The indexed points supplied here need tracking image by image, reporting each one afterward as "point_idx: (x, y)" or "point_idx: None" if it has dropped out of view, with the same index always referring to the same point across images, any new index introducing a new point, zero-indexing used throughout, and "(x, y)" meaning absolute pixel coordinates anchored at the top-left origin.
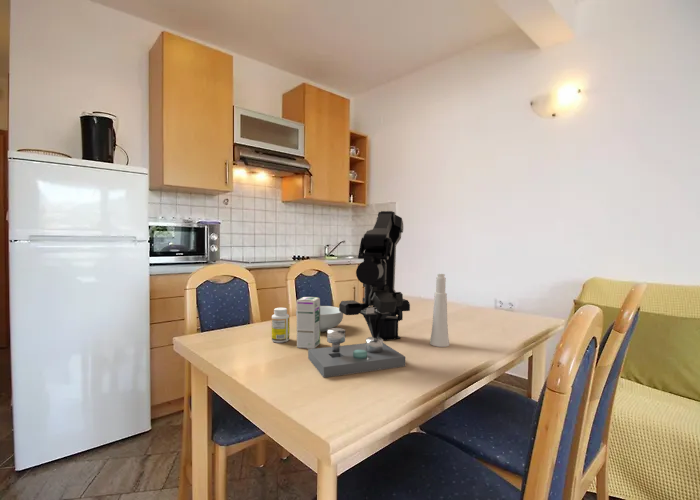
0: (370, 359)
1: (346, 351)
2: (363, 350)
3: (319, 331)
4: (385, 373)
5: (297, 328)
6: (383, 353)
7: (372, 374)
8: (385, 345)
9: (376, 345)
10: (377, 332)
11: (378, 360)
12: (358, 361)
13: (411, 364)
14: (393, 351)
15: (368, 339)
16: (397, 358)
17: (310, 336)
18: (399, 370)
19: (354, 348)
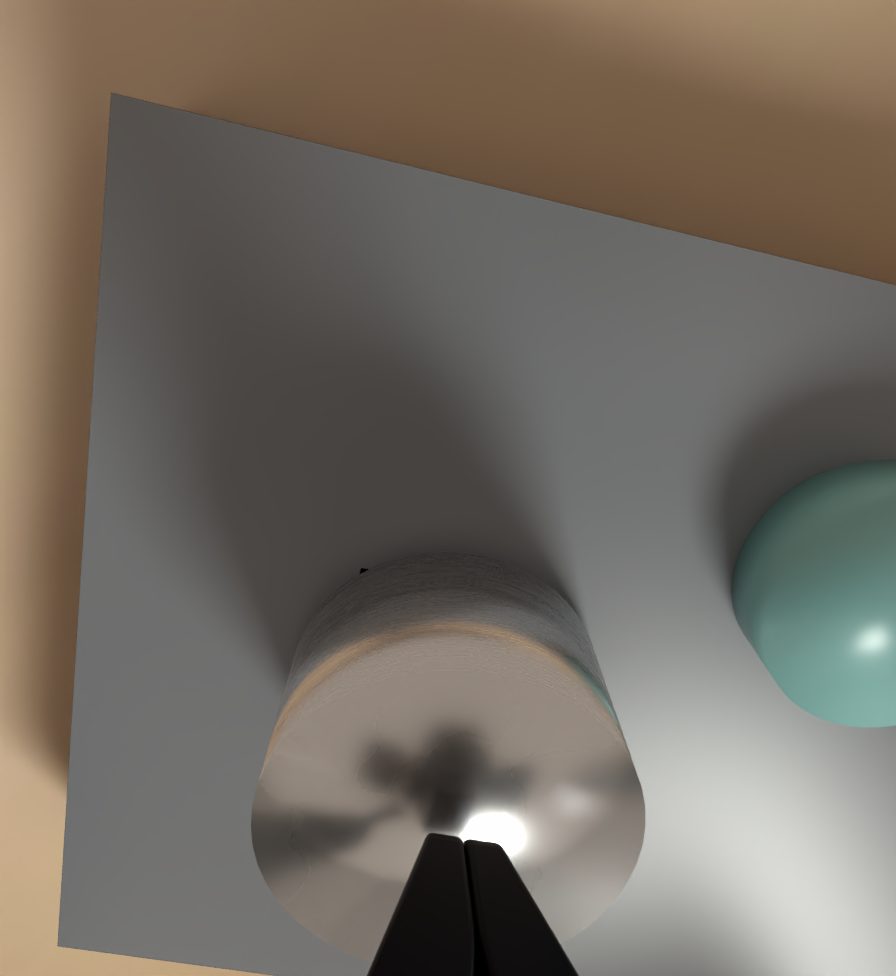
0: (837, 357)
1: (839, 840)
2: (789, 647)
3: None
4: (694, 39)
5: None
6: (400, 490)
7: (889, 133)
8: (101, 781)
9: (528, 637)
10: (429, 936)
11: (738, 247)
12: None
13: (16, 119)
14: (158, 479)
15: (576, 878)
16: (314, 144)
17: None
18: (396, 7)
19: (645, 884)
